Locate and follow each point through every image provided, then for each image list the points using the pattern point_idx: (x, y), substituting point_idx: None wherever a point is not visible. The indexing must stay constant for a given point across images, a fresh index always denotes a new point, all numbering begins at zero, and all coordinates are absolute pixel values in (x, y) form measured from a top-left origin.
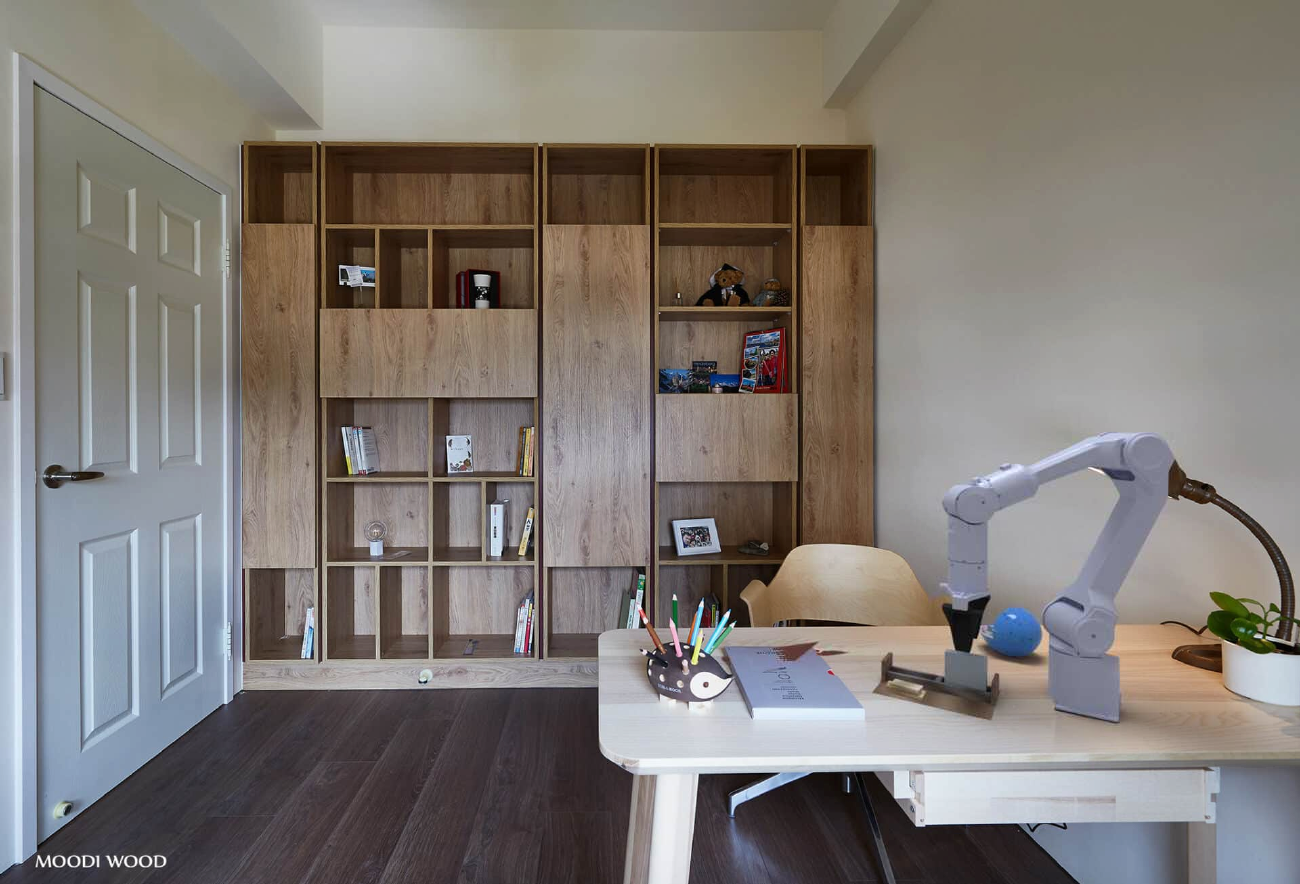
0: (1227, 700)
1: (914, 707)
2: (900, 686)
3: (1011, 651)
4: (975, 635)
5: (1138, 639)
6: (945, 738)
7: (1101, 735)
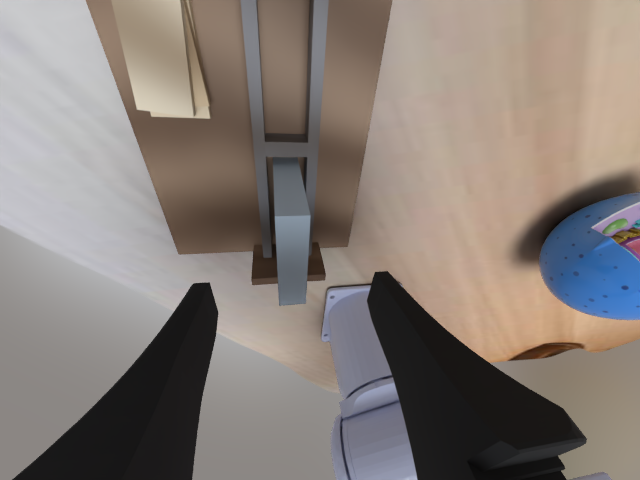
0: None
1: None
2: (121, 33)
3: (546, 242)
4: (372, 307)
5: (610, 322)
6: (30, 190)
7: (272, 332)
